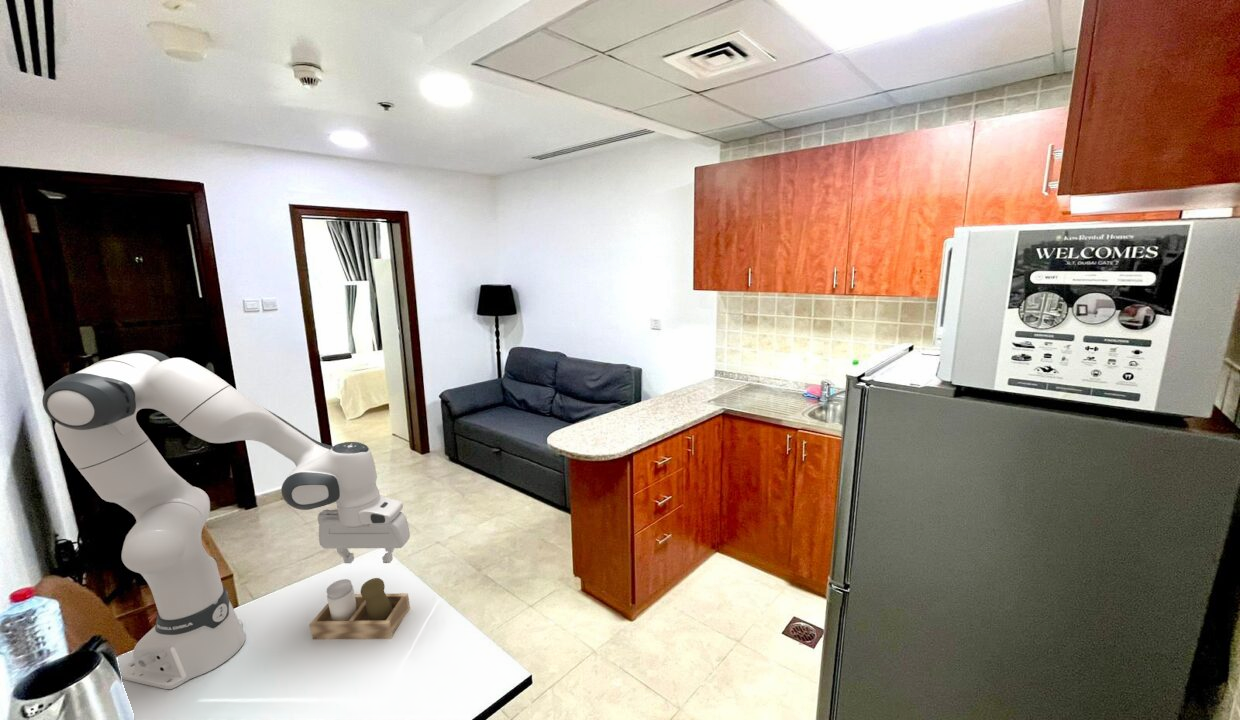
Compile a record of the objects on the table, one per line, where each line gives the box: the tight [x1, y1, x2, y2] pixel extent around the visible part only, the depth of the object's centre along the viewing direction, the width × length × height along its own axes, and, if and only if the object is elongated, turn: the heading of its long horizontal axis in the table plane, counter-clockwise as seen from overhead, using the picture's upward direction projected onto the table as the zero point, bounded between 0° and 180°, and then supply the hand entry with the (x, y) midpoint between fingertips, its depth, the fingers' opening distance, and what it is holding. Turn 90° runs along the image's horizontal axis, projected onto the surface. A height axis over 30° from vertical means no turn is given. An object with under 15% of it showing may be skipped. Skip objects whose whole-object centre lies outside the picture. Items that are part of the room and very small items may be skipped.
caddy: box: [308, 592, 411, 641], centre depth 117 cm, size 19×10×5 cm, turn 88°
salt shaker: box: [326, 578, 358, 621], centre depth 116 cm, size 6×6×10 cm
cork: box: [360, 577, 393, 621], centre depth 116 cm, size 6×6×11 cm
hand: (368, 561), depth 113 cm, fingers open, 8 cm apart
